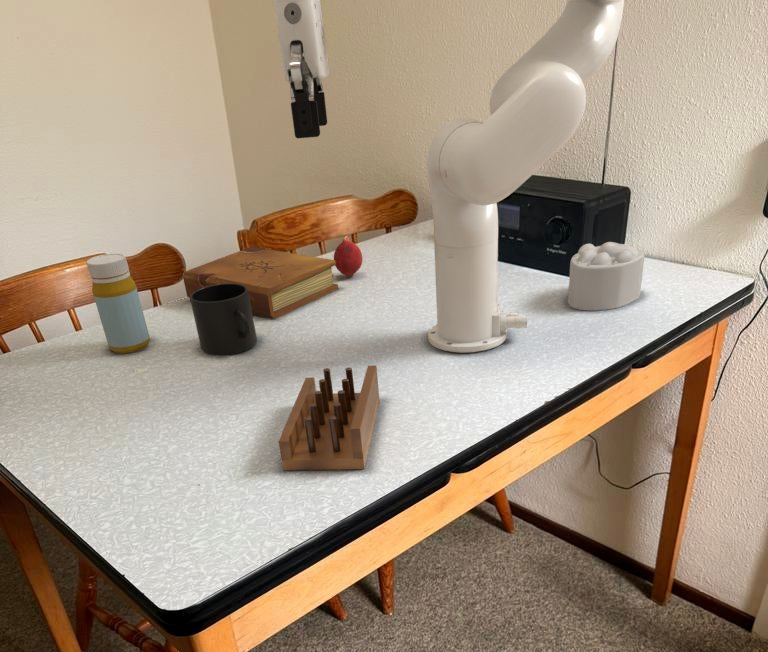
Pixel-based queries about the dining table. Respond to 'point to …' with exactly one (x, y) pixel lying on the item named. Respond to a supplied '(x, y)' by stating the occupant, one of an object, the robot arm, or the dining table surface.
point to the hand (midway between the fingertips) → (312, 131)
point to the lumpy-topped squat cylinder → (605, 276)
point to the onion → (348, 257)
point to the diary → (268, 278)
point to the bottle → (118, 303)
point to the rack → (331, 424)
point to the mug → (224, 318)
